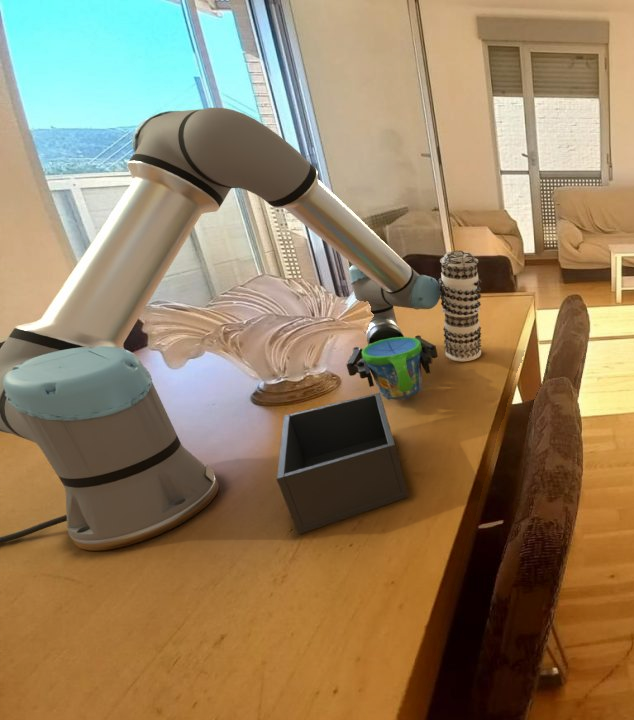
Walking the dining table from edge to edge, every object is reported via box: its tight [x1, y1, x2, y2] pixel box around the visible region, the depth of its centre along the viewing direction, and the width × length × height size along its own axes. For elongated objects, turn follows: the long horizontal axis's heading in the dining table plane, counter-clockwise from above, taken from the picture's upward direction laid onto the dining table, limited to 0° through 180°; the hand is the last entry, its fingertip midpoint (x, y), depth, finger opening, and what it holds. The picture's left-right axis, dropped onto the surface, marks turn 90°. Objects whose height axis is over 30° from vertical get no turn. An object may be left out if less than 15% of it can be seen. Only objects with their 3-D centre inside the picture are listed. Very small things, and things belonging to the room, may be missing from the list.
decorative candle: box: [438, 250, 482, 363], centre depth 110 cm, size 9×9×25 cm
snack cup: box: [362, 336, 423, 401], centre depth 94 cm, size 16×10×10 cm
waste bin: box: [276, 392, 409, 535], centre depth 71 cm, size 14×19×9 cm
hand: (399, 373), depth 90 cm, fingers closed on snack cup, 9 cm apart
